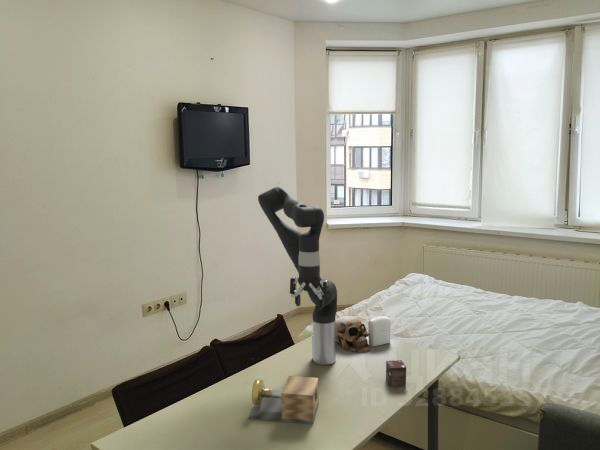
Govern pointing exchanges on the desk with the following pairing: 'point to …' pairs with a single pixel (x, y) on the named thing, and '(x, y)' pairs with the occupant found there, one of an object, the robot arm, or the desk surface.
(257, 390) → the shaft
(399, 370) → the box
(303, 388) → the bearing block
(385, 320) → the photo printer
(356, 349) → the skull
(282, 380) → the desk surface
